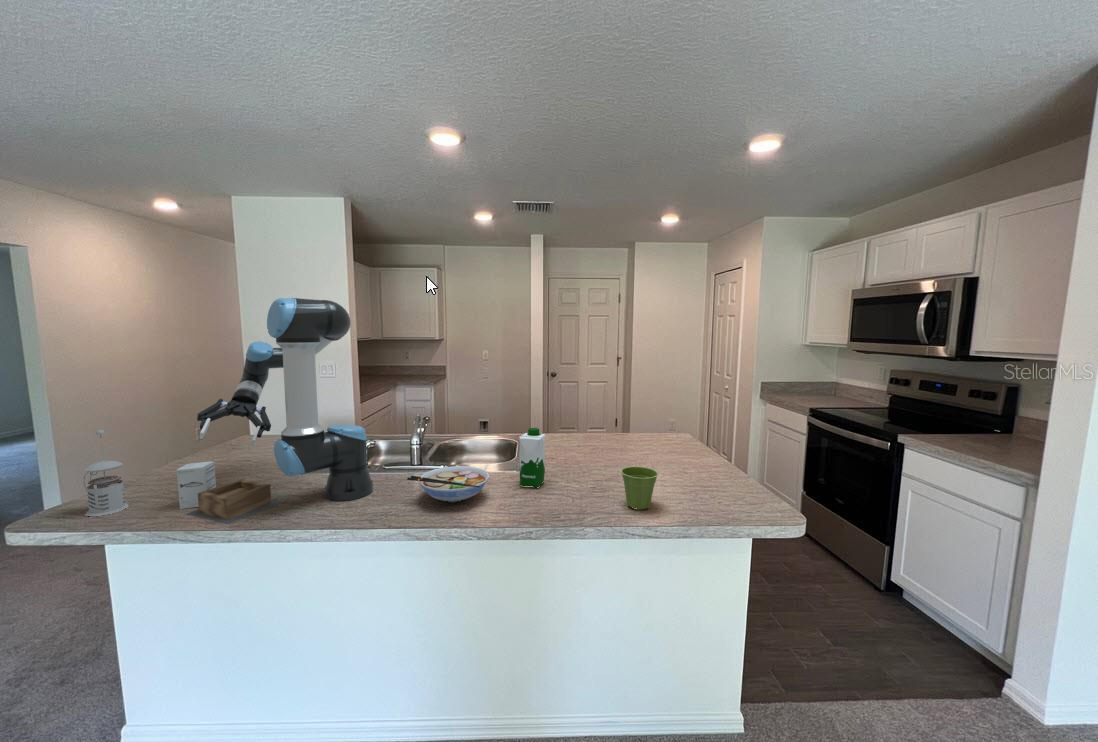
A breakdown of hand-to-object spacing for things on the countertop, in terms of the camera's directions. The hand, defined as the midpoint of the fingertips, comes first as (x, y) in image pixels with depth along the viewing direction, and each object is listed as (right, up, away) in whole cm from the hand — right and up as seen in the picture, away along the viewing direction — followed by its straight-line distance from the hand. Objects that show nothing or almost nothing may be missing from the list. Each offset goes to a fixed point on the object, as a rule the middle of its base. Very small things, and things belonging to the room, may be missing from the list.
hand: (227, 439), depth 136 cm
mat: (+5, -21, -3) cm, 22 cm away
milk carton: (+95, -20, +20) cm, 99 cm away
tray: (+5, -21, -3) cm, 21 cm away
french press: (-34, -21, -4) cm, 40 cm away
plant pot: (+130, -22, +2) cm, 132 cm away
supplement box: (-9, -21, 0) cm, 22 cm away
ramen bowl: (+70, -21, +7) cm, 74 cm away
